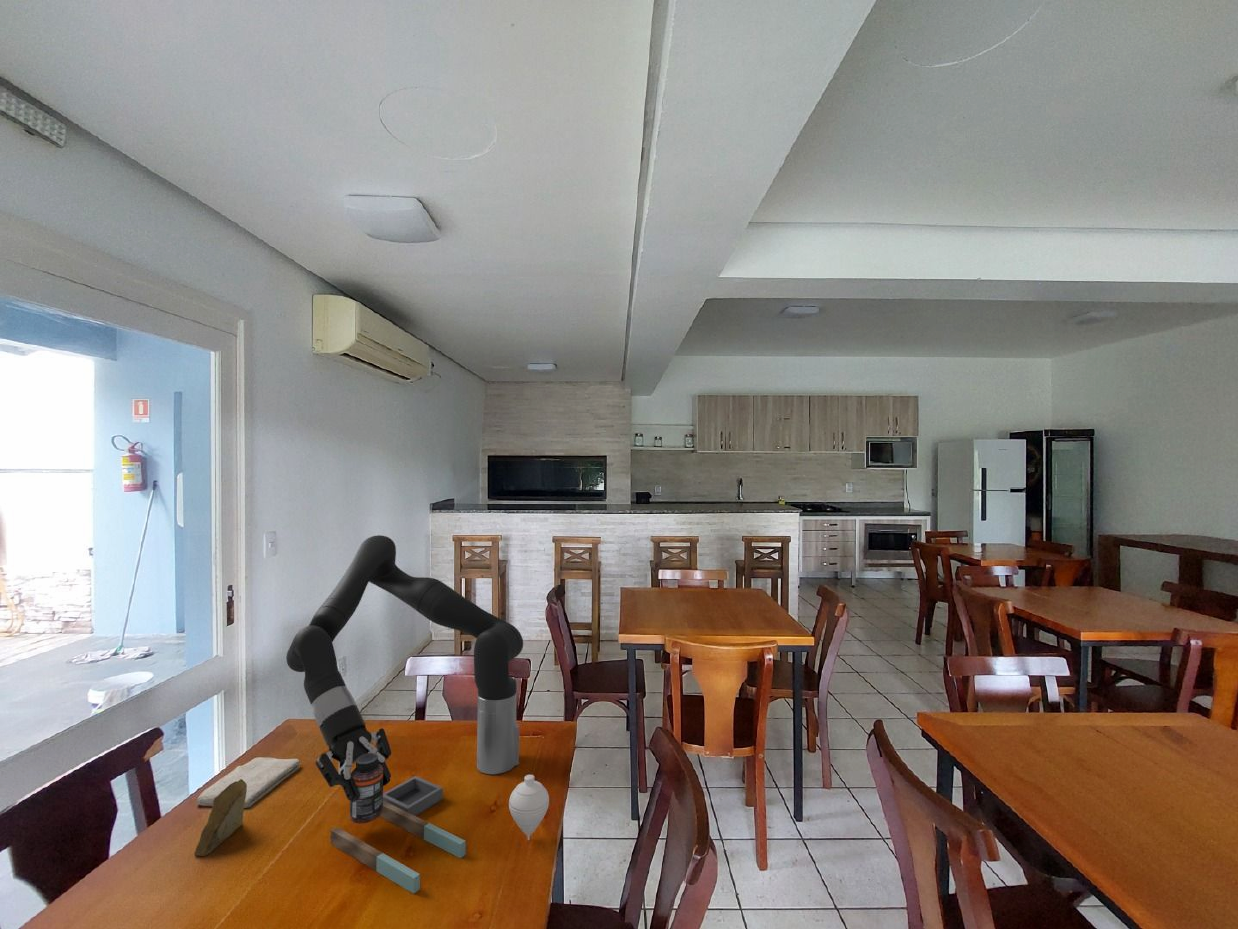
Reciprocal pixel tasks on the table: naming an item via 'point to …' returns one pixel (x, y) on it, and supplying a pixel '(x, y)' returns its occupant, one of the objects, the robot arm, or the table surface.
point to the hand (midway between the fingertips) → (371, 791)
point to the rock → (223, 817)
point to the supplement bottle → (367, 789)
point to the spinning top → (529, 804)
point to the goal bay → (407, 875)
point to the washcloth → (252, 779)
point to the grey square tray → (414, 795)
